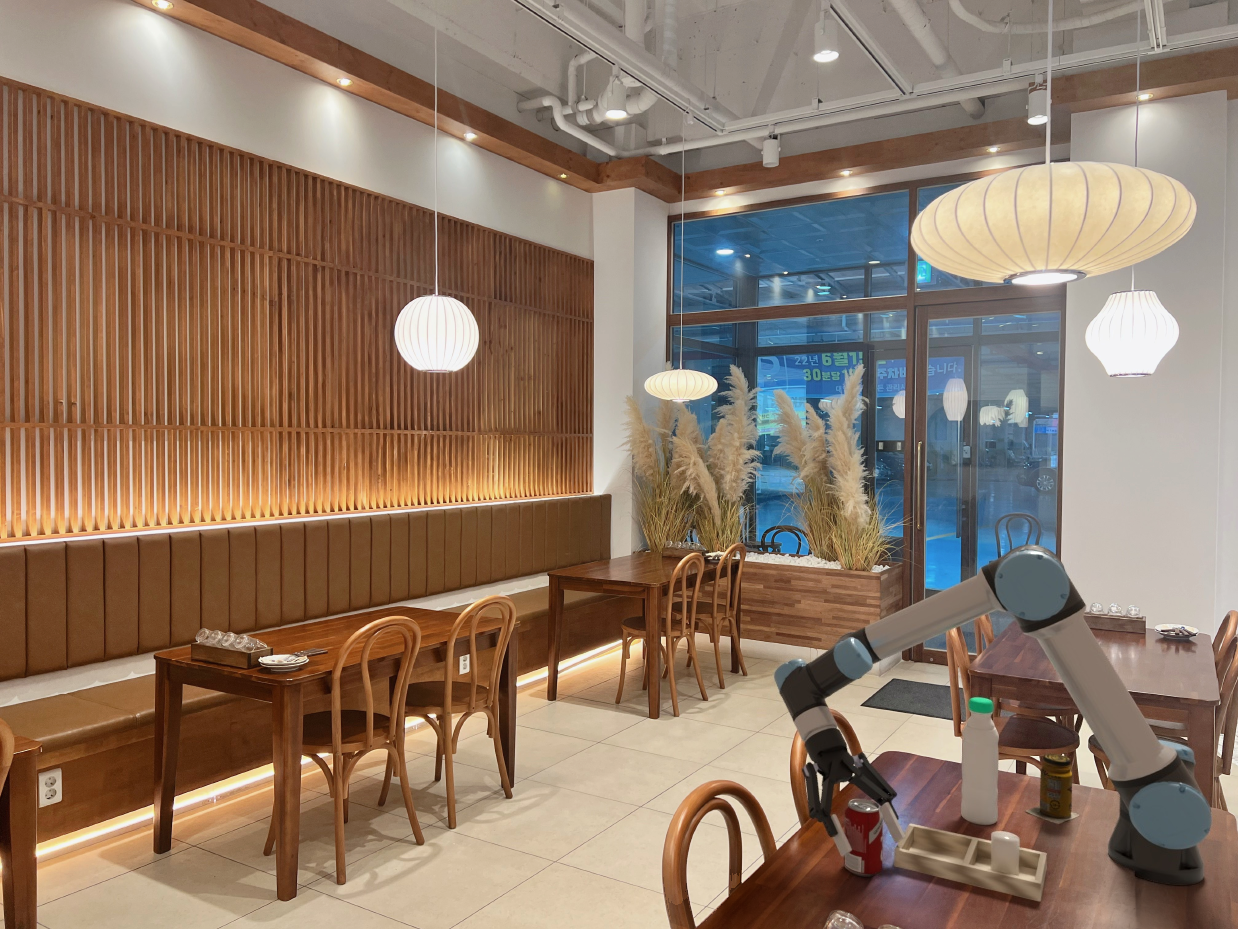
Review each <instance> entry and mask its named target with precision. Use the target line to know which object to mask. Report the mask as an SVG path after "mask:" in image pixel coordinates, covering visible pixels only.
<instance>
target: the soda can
mask: <svg viewBox="0 0 1238 929" xmlns="http://www.w3.org/2000/svg"><path fill="white" fill-rule="evenodd" d="M847 805H848V806H847V808H845V811H844V829H843V831H844V833H845V836H846V838H847V840H848V842H849V844H850V846H851V849H852V851H850V852H849V853H848V854H847V855H845V856H843V866H844V867H845V869H846V870H848V871H849V872H850V873H852V874H853V875H856V876H858V877H865V878H871V877H874V876H875V875H876V874H878V873H880V872H882V870H883V859H884V858H883V854H884V853H883V851H884V849H883V847H884V846H883V843H884V820H883V815H882V813H881V812H880V810H879V809H880V807H881V806H880V805H879V804H878V803H876V802H875V801H874V800H872V799H871V800H870V799H865V798H854V799H850V800H849V801H848V803H847Z"/></svg>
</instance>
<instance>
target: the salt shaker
mask: <svg viewBox="0 0 1238 929" xmlns="http://www.w3.org/2000/svg"><path fill="white" fill-rule="evenodd" d="M990 836H991V837H990V838H991V840H990V841H991V870H995V871H999V872H1004V873H1008V874H1012V875H1017V876H1019V847H1020V837H1019V836H1018V835H1016V834H1014V833H1012V832H1008V831H1002V830H1001V831H1000V830H996V831H993V832H991V833H990Z"/></svg>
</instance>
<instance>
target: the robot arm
mask: <svg viewBox="0 0 1238 929" xmlns="http://www.w3.org/2000/svg"><path fill="white" fill-rule="evenodd" d="M1086 609H1087V604H1086V602H1085V601H1084V599H1083V598H1082V596H1081V594H1080V592H1079V591H1078V589H1077V588H1076V587H1075V584H1074V583H1073V581H1072V580H1071V578H1070V577H1069V574H1068V573H1067V570H1066V568H1065V566H1064V563H1063V561H1062V560H1061V558H1060V557H1059V556H1058V555H1057V554H1056V553H1054V552H1053V551H1052V550H1050V548H1046V547H1045V546H1041V545H1038V544H1029V543H1028V544H1022V545H1019V546H1016V547H1014V548H1012V549H1010V550H1009V551H1008V552H1006V553H1005V554H1003V555H1002V556H1000V557H999V558H997V559H995V560H994V561H992V562H990V563H987V564H985V565H983V566H981V567H979V570H978V573H977V574H976V575H974V576H972V577H970V578H967V579H965V580H964V581H962V582H958V583H957V584H955V585H953V586H951V587H948V588H946V589H944V590H942V591H939V592H937V593H935V594H933V595H930V596H929V597H927V598H924V599H922V600H920V601H918V602H916V603H914V604H911V605H910V606H907V607H905V608H903V609H901V610H898V611H897V612H894V613H891V614H890V615H888V616H885V617H883V618H881V619H879V620H877V621H875V622H873V623H870V624H868V625H866V626H865V627H863V628H860V629H858V630H855V631H850V632H847V633H845V634H843V635H842V636H841V637H839V639H838V640H837V641H836V642H835V643H834V644H833V645H832V646H831V647H830V648H829V649H827V650H826V651H825V652H824V653H822V654H820V655H819V656H818V657H816V658H815V659H813V660H812V661H810V662H806V661H805V660H804V659H802V658H794V659H790V660H789V661H787V662H786V661H785V662H784V663H782V664H780V665H779V666H778V667H777V668H776V669H775V671H774V676H773V678H774V682H775V684H776V687H777V689H778V691H779V692H778V693H779V695H780V697H781V699H782V700H783V702H784V704H785V706H786V709H787V711H788V713H789V715H790V717H791V719H792V722H793V723H794V726H795V728H796V730H797V732H798V735H799V736H800V739H801V741H802V742H804V748H805V751H806V752H807V754H808V757H809V759H810V761H807V763H806V764H805V765H804V766H803V767H802V768H801V771H802V772H801V773H802V775H803V777H804V780H805V786H806V787H805V788H806V797H807V799H806V800H807V807H808V809H807V810H808V817H809V818H810V819H811V820H814V819H816V820H817V822H818V823H822V824H823V827H824V829H825V831H826V833H827V835H828V837H830V838H832V839H833V841H834V843H835V845H836V847H837V850H838V852H839V854H840V856H841V858H844V856H845V855H847V854H848V853H849V852H850V851H852V849H851V846H850V844H849V842H848V840H847V838H846V836H845V833H844V829H843V828H842V825H841V823H840V821H839V818H838V816H837V814H836V813H835V814H831V812H832V806H833V797H834V796H833V795H834V789H835V788H834V787H835V785H837V784H840V783H847V782H848V784H850V785H854V786H855V787H857V788H858V789H859V790H860V791H861V792H863V793H864V794H866V795H867V796H868V797H869V798H870V799H871V800H872V801H874V802H876V803H877V804H878V805H879V806H880V809H879V810H880V812H881V813H882V815H883V823H885V827H886V828H887V830H888V832H889V834H890V835H891V838H892V841H894V842H893V843H894V844H898V843H899V842H900V841H901V840H902V839H904V838H905V837H906V836H905V834H904V832H905V831H904V830H903V828H902V827H901V824H900V822H899V819H900V818H899V815H898V813H897V810H896V809H895V806H894V805H893V800H894V799H895V798H897V796H898V794H897V791H896V790H895V789H894V787H892V786H891V785H890V783H888V781H887V780H886V778H884V777H883V776H882V775H881V774H880V773H879V772H878V770H877V769H876V768H875V767H874V766H873V765H872V764H871V762H870V761H869V760H868V758H867V755H866V754H865V752H863V751H861V752H859V753H858V754H856V755H853V756H852V755H851V754H850V753H849V751H848V747H847V746H848V745H847V741H846V740H845V738H844V736H843V734H842V732H841V731H840V729H839V728H838V724H837V721H836V719H835V718H834V715H833V714H832V712H831V710H830V707H829V705H828V704H827V702H826V699H827V698H829V697H831V696H833V694H835V693H836V692H839V691H840V690H842V689H844V688H845V687H847V686H849V685H850V684H851V683H854V682H855V681H857V680H859V679H862V678H863V677H864V676H865V675H866V674H868V673H869V672H870V671H872V669H873V667H874V665H875V664H876V663H879V662H881V661H883V660H885V659H887V658H890V657H892V656H894V655H897V654H899V653H902V652H904V651H906V650H908V649H910V648H913V647H915V646H917V645H920V644H922V643H925V642H927V641H928V640H931V639H933V638H935V637H938V636H940V635H943V634H945V633H947V632H949V631H951V630H953V629H956V628H958V627H961V626H963V625H965V624H968V623H969V622H972V621H974V620H977V619H980V618H981V617H983V616H984V617H985V616H986V615H989V614H990V613H993V612H995V611H999V612H1000V611H1001V612H1003V613H1006V612H1009V613H1010V614H1011V615H1012V617H1013V618H1014V620H1015V622H1016V624H1017V625H1018V627H1019V629H1020V630H1021V632H1022V633H1023V635H1026V636H1028V637H1030V638H1031V637H1032V638H1034V639H1036V640H1037V641H1038V644H1039V645H1040V647H1041V648H1042V650H1043V652H1044V653H1045V655H1046V657H1047V658H1048V660H1049V662H1050V663H1051V665H1052V667H1053V668H1054V670H1055V672H1056V673H1057V675H1058V677H1059V678H1060V680H1061V681H1062V683H1063V685H1064V687H1065V688H1066V690H1067V692H1068V693H1069V695H1070V697H1071V698H1072V699H1073V702H1074V703H1075V705H1076V707H1077V709H1078V710H1079V712H1080V714H1081V715H1082V717H1083V718H1084V720H1085V722H1086V723H1087V726H1088V727H1089V729H1090V730H1091V731H1092V734H1093V735H1094V737H1095V738H1096V740H1097V742H1098V744H1099V745H1100V747H1101V748H1102V750H1103V752H1104V753H1105V755H1106V757H1107V759H1108V760H1109V762H1110V764H1109V769H1108V771H1107V776H1108V779H1110V781H1111V783H1112V784H1113V786H1114V788H1115V790H1116V791H1117V793H1118V795H1119V809H1118V810H1119V814H1118V819H1117V821H1116V823H1115V826H1114V828H1113V831H1112V833H1111V836H1110V838H1109V841H1108V844H1107V854H1108V856H1109V857H1110V858H1111V859H1112V860H1113V861H1114V862H1116V863H1117V864H1119V865H1120V866H1122V867H1123V868H1126V869H1128V870H1130V871H1132V872H1134V876H1135V877H1137V878H1141V879H1143V880H1146V881H1151V882H1154V883H1160V884H1165V885H1172V886H1173V885H1174V886H1189V885H1194V884H1198V883H1200V882H1202V881H1203V879H1204V871H1205V865H1204V860H1203V858H1202V855H1201V852H1200V848H1199V845H1198V844H1200V843H1201V842H1202V841H1204V840H1205V839H1206V838H1207V836H1208V835H1209V833H1210V831H1211V828H1212V822H1213V818H1212V809H1211V805H1210V803H1209V802H1208V800H1207V798H1206V797H1205V796H1204V794H1203V792H1202V790H1201V788H1200V787H1199V784H1198V782H1197V780H1196V778H1195V766H1196V760H1195V752H1194V750H1193V749H1192V748H1190V747H1188V746H1186V745H1183V744H1181V743H1176V742H1173V741H1168V740H1162V739H1158V737H1157V736H1156V734H1155V732H1154V731H1153V729H1152V727H1151V725H1150V724H1149V723H1148V721H1147V719H1146V718H1145V716H1144V715H1143V713H1142V711H1141V710H1140V708H1139V706H1138V705H1137V703H1136V702H1135V700H1134V698H1133V697H1132V695H1131V694H1130V692H1129V690H1128V688H1127V687H1126V685H1125V683H1124V682H1123V680H1122V679H1121V677H1120V676H1119V674H1118V672H1117V671H1116V668H1114V665H1113V664H1112V663H1111V662H1112V661H1110V659H1109V657H1108V656H1107V654H1106V652H1105V651H1104V649H1103V648H1102V646H1101V644H1100V643H1099V641H1098V639H1097V638H1096V636H1095V635H1094V633H1093V632H1092V630H1091V628H1090V627H1089V625H1088V624H1087V622H1086V620H1085V618H1084V617H1085V616H1084V615H1085V614H1086V612H1085V611H1086ZM818 774H819V775H820V776H822V778H821V779H822V780H821V787H822V788H821V793H820V789H819V780H818Z"/></svg>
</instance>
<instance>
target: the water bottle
mask: <svg viewBox="0 0 1238 929" xmlns="http://www.w3.org/2000/svg"><path fill="white" fill-rule="evenodd" d="M968 711H969V712H970V717H969V718H968V719H967V720H966V723H965V725H964V727H963V729H962V734H961V735H962V738H963V739H962V748H961V750H962V751H961V753H962V754H961V774H962V775H961V777H962V783H961V788H960V790H961V792H960V793H961V805H960V815H961V816H962V818H963V819H964V820H965V821H967V822H969V823H971V824H975V825H981V826H989V825H993V824H995V823H997V821H998V818H999V817H998V816H999V813H998V812H999V811H998V810H999V809H998V799H999V792H998V791H999V790H998V779H999V745H998V744H999V741H1000V737H999V736H1000V735H999V732H998V730H997V728H996V726H995V722H994V720H992V714H994V713H993V712H994V702H993V701H992V700H991V699H989V698H985V697H979V696H978V697H971V698H970V699H968Z"/></svg>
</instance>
